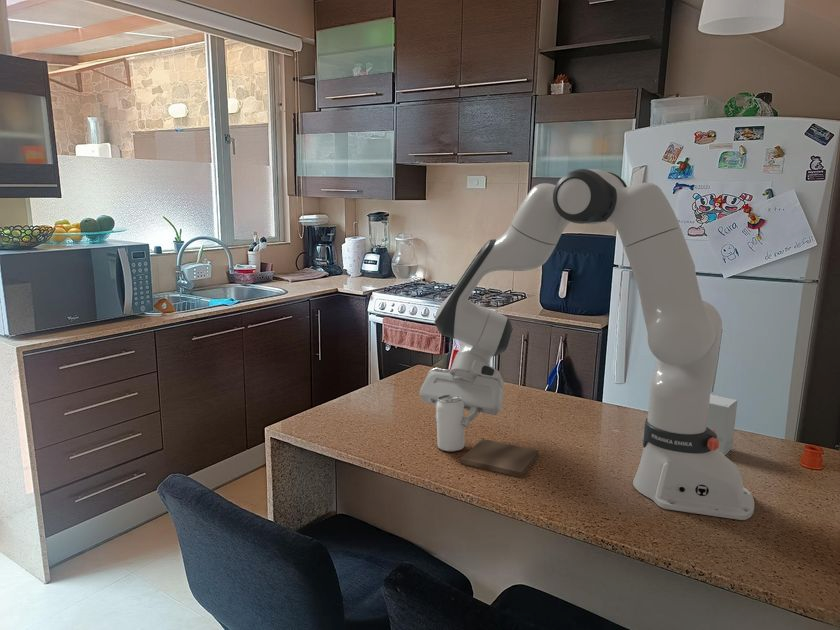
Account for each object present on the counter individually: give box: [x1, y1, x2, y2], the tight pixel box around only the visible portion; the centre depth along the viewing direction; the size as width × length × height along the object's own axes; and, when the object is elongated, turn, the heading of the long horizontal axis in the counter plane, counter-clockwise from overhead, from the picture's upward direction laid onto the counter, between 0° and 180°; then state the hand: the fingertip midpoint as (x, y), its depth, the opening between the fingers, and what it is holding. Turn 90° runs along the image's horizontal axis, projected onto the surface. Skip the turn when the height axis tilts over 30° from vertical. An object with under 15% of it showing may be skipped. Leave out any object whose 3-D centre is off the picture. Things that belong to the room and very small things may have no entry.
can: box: [436, 395, 466, 453], centre depth 143 cm, size 6×6×12 cm
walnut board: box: [460, 438, 540, 478], centre depth 138 cm, size 14×13×1 cm
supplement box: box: [707, 394, 738, 456], centre depth 144 cm, size 7×7×13 cm
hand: (451, 423), depth 142 cm, fingers open, 5 cm apart
